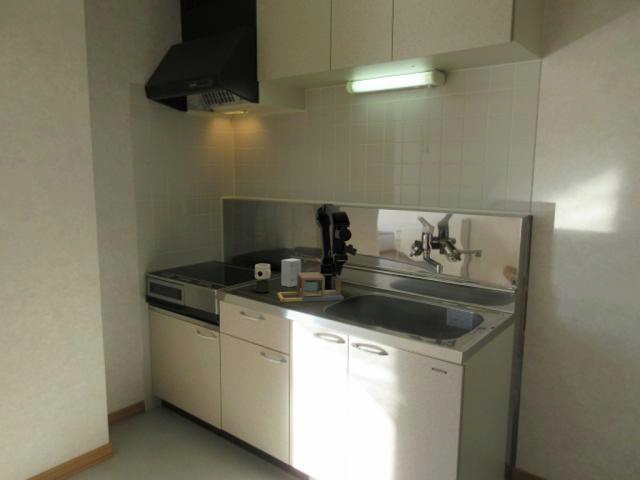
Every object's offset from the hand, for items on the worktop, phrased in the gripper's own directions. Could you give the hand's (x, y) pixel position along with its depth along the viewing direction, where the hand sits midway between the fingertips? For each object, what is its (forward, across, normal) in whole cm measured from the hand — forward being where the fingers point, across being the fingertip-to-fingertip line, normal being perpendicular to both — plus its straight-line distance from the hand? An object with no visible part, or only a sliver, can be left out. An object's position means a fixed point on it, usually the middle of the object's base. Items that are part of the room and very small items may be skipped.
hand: (337, 273), depth 210 cm
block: (+8, 0, +12) cm, 15 cm away
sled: (+9, 0, +7) cm, 12 cm away
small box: (+10, +26, +20) cm, 34 cm away
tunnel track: (+11, 0, +12) cm, 17 cm away
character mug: (+11, +11, +34) cm, 37 cm away
